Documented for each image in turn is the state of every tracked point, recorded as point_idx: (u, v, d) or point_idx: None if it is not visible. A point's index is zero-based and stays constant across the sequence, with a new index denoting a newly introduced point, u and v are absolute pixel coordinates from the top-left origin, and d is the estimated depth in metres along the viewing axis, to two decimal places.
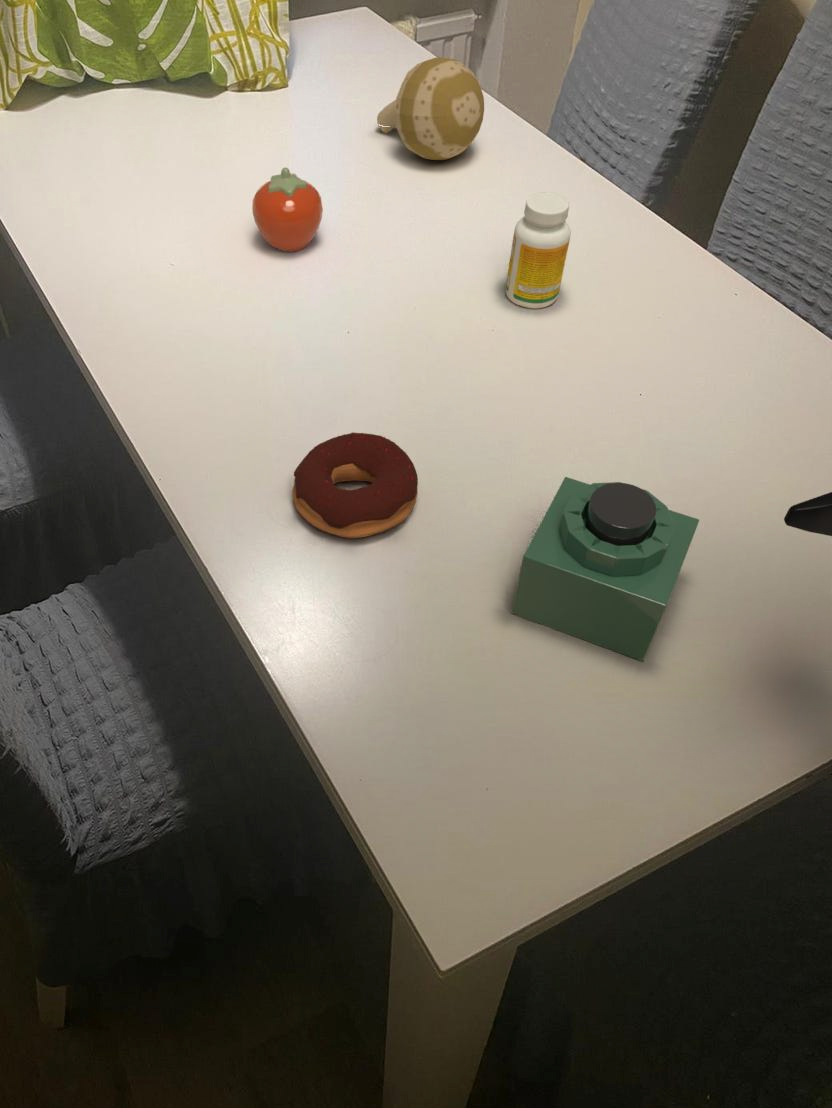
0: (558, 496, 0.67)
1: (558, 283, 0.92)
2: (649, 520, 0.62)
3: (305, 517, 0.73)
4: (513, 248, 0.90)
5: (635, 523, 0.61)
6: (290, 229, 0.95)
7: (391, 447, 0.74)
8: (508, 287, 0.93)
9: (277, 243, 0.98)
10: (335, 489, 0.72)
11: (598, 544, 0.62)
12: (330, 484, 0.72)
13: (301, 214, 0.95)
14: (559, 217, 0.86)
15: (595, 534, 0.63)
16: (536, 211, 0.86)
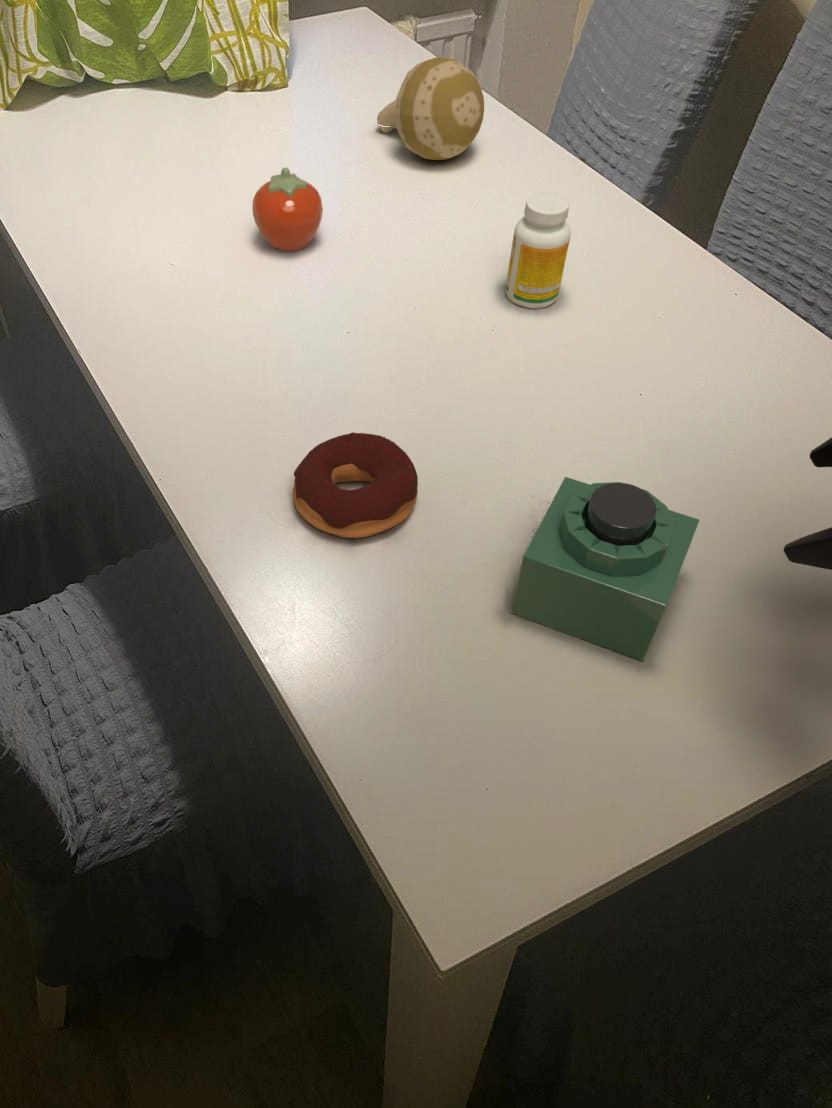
0: (558, 496, 0.67)
1: (558, 283, 0.92)
2: (649, 520, 0.62)
3: (305, 517, 0.73)
4: (513, 248, 0.90)
5: (635, 523, 0.61)
6: (290, 229, 0.95)
7: (391, 447, 0.74)
8: (508, 287, 0.93)
9: (277, 243, 0.98)
10: (335, 489, 0.72)
11: (598, 544, 0.62)
12: (330, 484, 0.72)
13: (301, 214, 0.95)
14: (559, 217, 0.86)
15: (595, 534, 0.63)
16: (536, 211, 0.86)
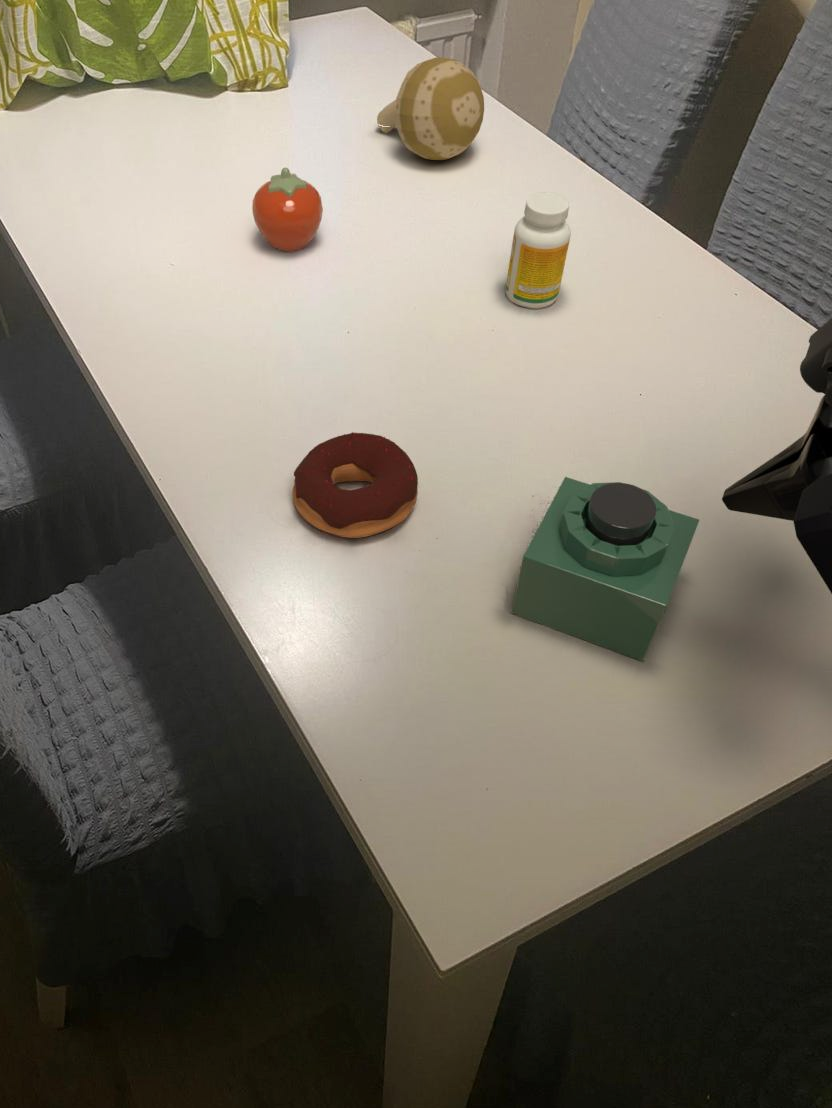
0: (558, 496, 0.67)
1: (558, 283, 0.92)
2: (649, 520, 0.62)
3: (305, 517, 0.73)
4: (513, 248, 0.90)
5: (635, 523, 0.61)
6: (290, 229, 0.95)
7: (391, 447, 0.74)
8: (508, 287, 0.93)
9: (277, 243, 0.98)
10: (335, 489, 0.72)
11: (598, 544, 0.62)
12: (330, 484, 0.72)
13: (301, 214, 0.95)
14: (559, 217, 0.86)
15: (595, 534, 0.63)
16: (536, 211, 0.86)
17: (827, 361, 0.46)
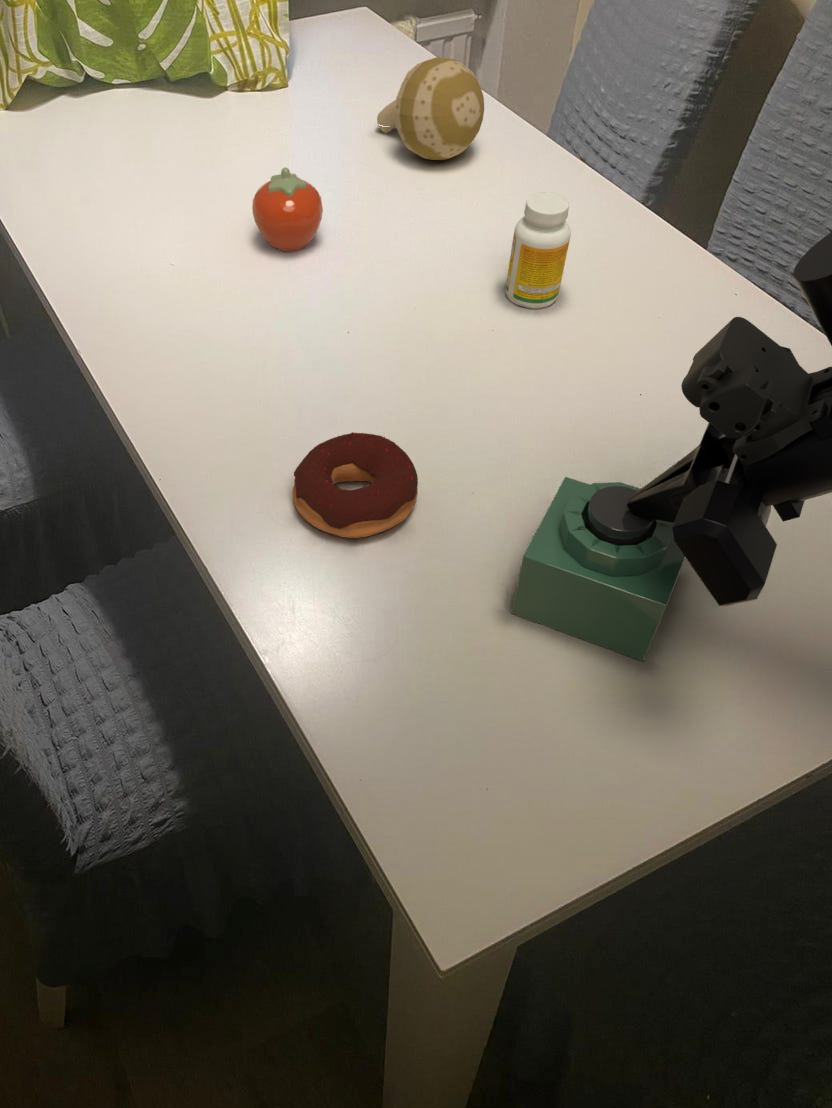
0: (558, 496, 0.67)
1: (558, 283, 0.92)
2: (648, 523, 0.62)
3: (305, 517, 0.73)
4: (513, 248, 0.90)
5: (634, 527, 0.62)
6: (290, 229, 0.95)
7: (391, 447, 0.74)
8: (508, 287, 0.93)
9: (277, 243, 0.98)
10: (335, 489, 0.72)
11: (598, 544, 0.62)
12: (330, 484, 0.72)
13: (301, 214, 0.95)
14: (559, 217, 0.86)
15: None
16: (536, 211, 0.86)
17: (700, 379, 0.50)
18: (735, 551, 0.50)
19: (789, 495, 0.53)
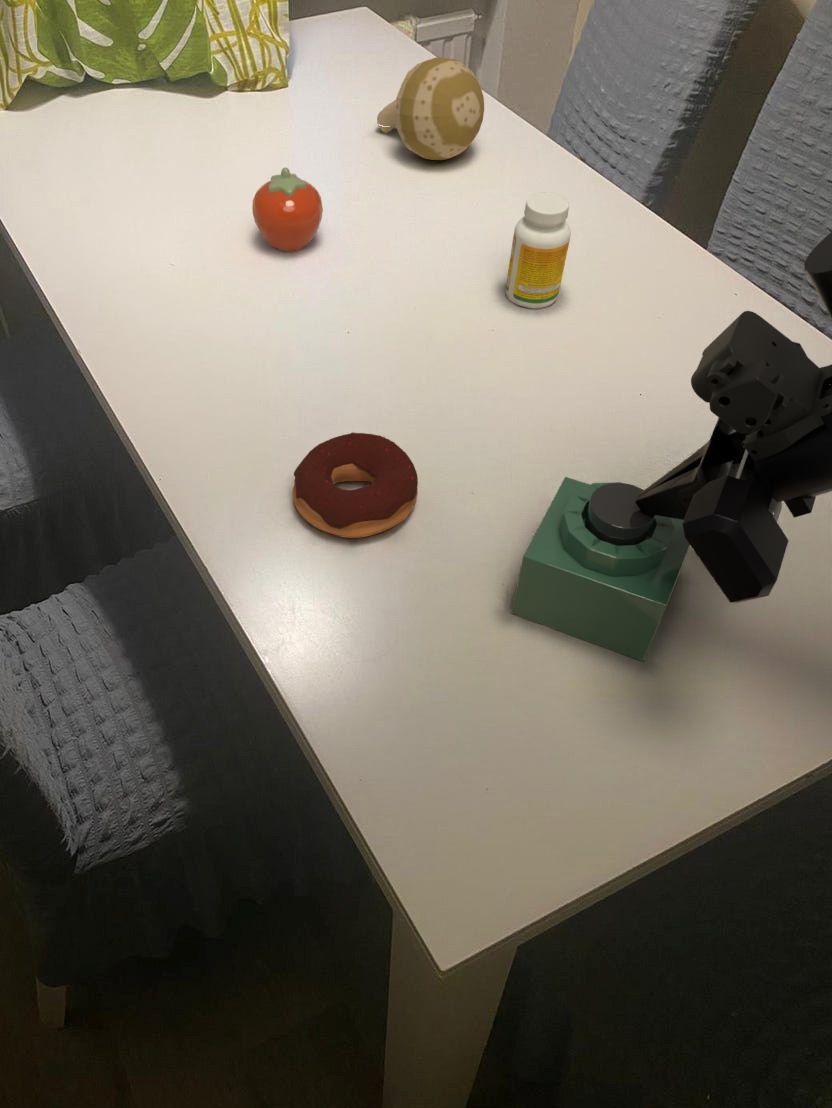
0: (558, 496, 0.67)
1: (558, 283, 0.92)
2: (649, 520, 0.62)
3: (305, 517, 0.73)
4: (513, 248, 0.90)
5: (635, 523, 0.61)
6: (290, 229, 0.95)
7: (391, 447, 0.74)
8: (508, 287, 0.93)
9: (277, 243, 0.98)
10: (335, 489, 0.72)
11: (598, 544, 0.62)
12: (330, 484, 0.72)
13: (301, 214, 0.95)
14: (559, 217, 0.86)
15: (595, 534, 0.63)
16: (536, 211, 0.86)
17: (710, 374, 0.49)
18: (746, 547, 0.49)
19: (801, 490, 0.53)
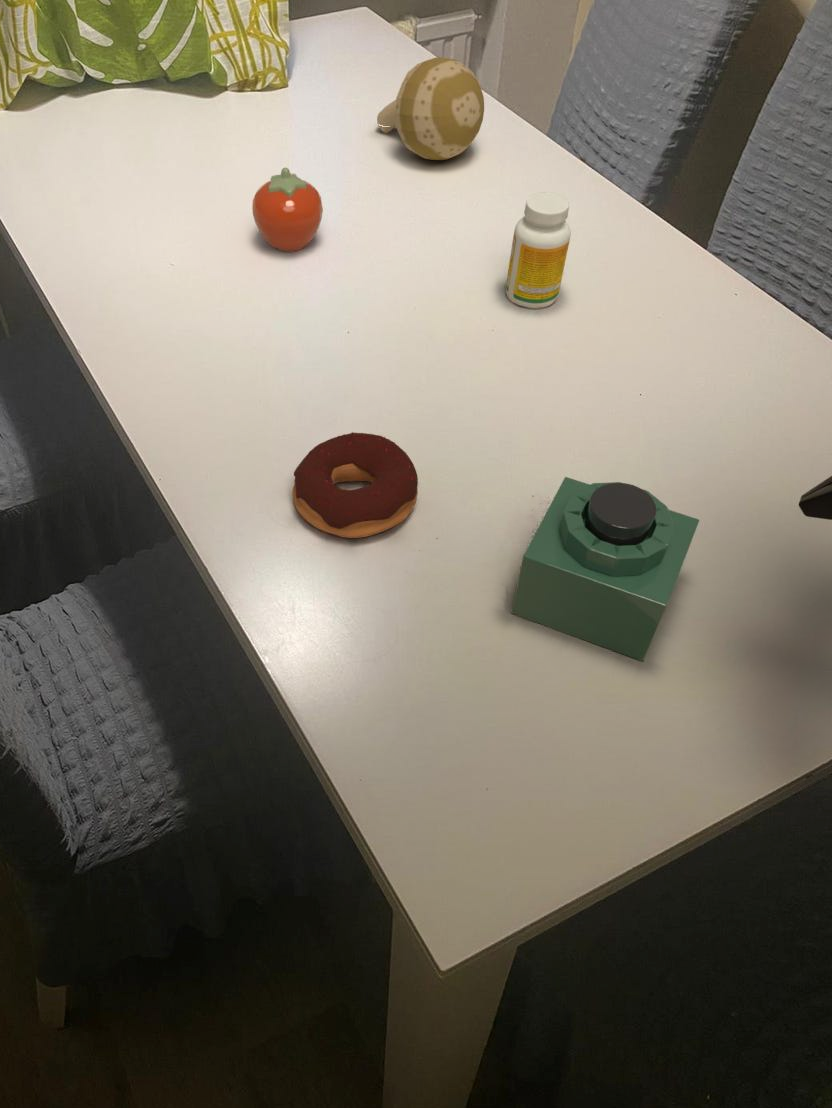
0: (558, 496, 0.67)
1: (558, 283, 0.92)
2: (649, 520, 0.62)
3: (305, 517, 0.73)
4: (513, 248, 0.90)
5: (635, 523, 0.61)
6: (290, 229, 0.95)
7: (391, 447, 0.74)
8: (508, 287, 0.93)
9: (277, 244, 0.98)
10: (335, 489, 0.72)
11: (598, 544, 0.62)
12: (330, 484, 0.72)
13: (301, 214, 0.95)
14: (559, 217, 0.86)
15: (595, 534, 0.63)
16: (536, 211, 0.86)
17: None
18: None
19: None
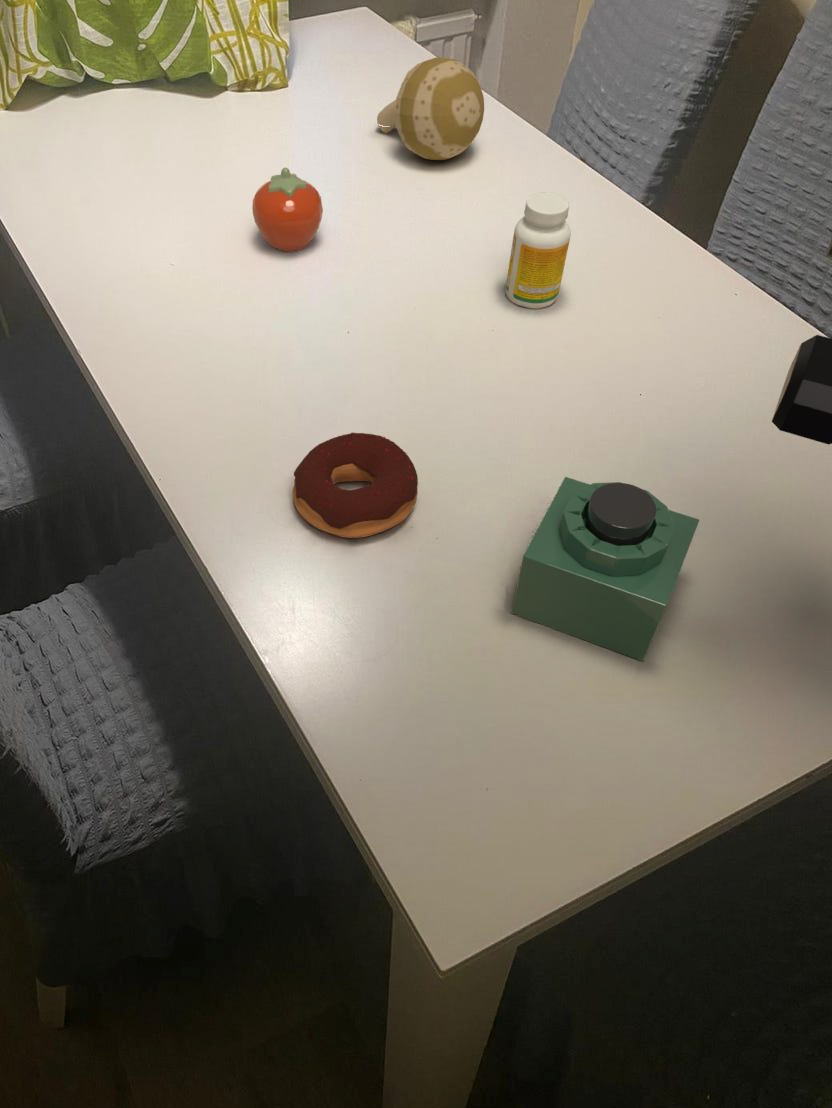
0: (558, 496, 0.67)
1: (558, 283, 0.92)
2: (649, 520, 0.62)
3: (305, 517, 0.73)
4: (513, 248, 0.90)
5: (635, 523, 0.61)
6: (290, 229, 0.95)
7: (391, 447, 0.74)
8: (508, 287, 0.93)
9: (277, 244, 0.98)
10: (335, 489, 0.72)
11: (598, 544, 0.62)
12: (330, 484, 0.72)
13: (301, 214, 0.95)
14: (559, 217, 0.86)
15: (595, 534, 0.63)
16: (536, 211, 0.86)
17: None
18: (805, 352, 0.50)
19: None
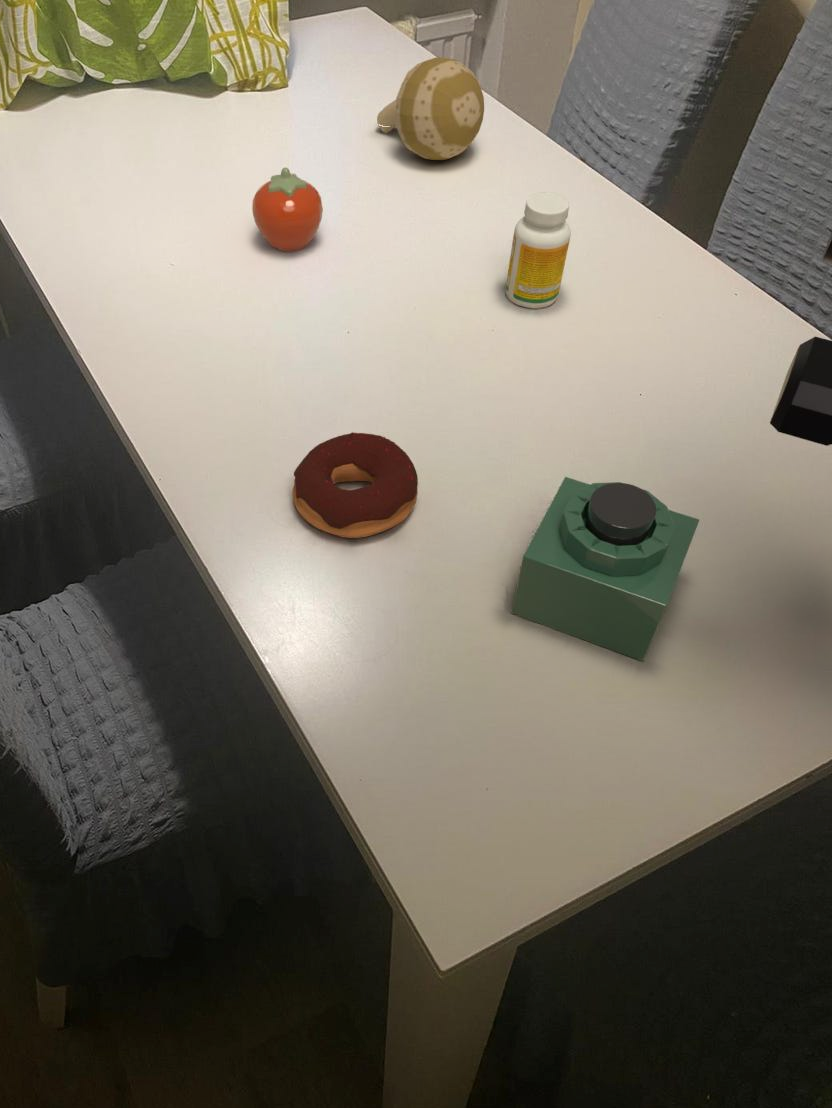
0: (558, 496, 0.67)
1: (558, 283, 0.92)
2: (649, 520, 0.62)
3: (305, 517, 0.73)
4: (513, 248, 0.90)
5: (635, 523, 0.61)
6: (290, 229, 0.95)
7: (391, 447, 0.74)
8: (508, 287, 0.93)
9: (277, 243, 0.98)
10: (335, 489, 0.72)
11: (598, 544, 0.62)
12: (330, 484, 0.72)
13: (301, 214, 0.95)
14: (559, 217, 0.86)
15: (595, 534, 0.63)
16: (536, 211, 0.86)
17: None
18: (803, 354, 0.50)
19: None
